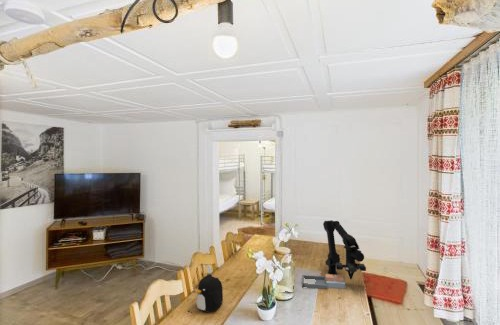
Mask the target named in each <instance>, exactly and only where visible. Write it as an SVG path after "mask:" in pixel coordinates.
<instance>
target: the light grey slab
mask: <svg viewBox="0 0 500 325" xmlns="http://www.w3.org/2000/svg"><path fill="white" fill-rule="evenodd" d="M325 282H326V285H327V289H337V290H346V283H345V279H344V278H343V282H336V281H335V279H334V281H326V277H325Z"/></svg>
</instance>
